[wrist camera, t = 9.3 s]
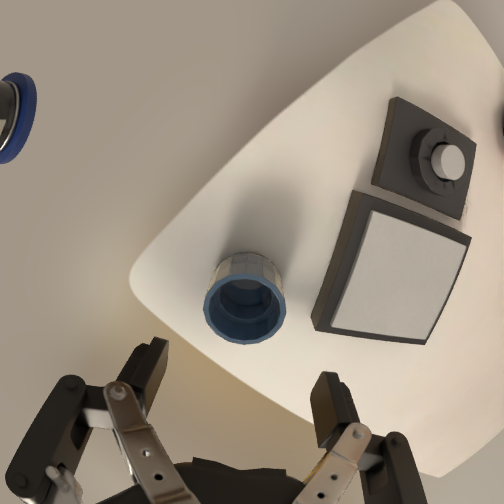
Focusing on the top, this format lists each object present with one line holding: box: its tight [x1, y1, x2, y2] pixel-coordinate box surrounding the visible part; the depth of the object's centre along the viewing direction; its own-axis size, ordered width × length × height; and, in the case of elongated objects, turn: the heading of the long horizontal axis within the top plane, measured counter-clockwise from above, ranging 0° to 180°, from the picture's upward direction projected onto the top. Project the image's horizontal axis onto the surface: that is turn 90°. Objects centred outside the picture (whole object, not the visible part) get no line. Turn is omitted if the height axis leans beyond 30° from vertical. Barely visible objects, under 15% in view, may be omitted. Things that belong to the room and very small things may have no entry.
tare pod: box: [371, 97, 477, 220], centre depth 19 cm, size 10×8×3 cm
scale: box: [311, 190, 472, 345], centre depth 22 cm, size 13×12×3 cm
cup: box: [203, 253, 286, 345], centre depth 22 cm, size 6×6×5 cm
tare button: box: [431, 145, 465, 180], centre depth 17 cm, size 3×3×2 cm
